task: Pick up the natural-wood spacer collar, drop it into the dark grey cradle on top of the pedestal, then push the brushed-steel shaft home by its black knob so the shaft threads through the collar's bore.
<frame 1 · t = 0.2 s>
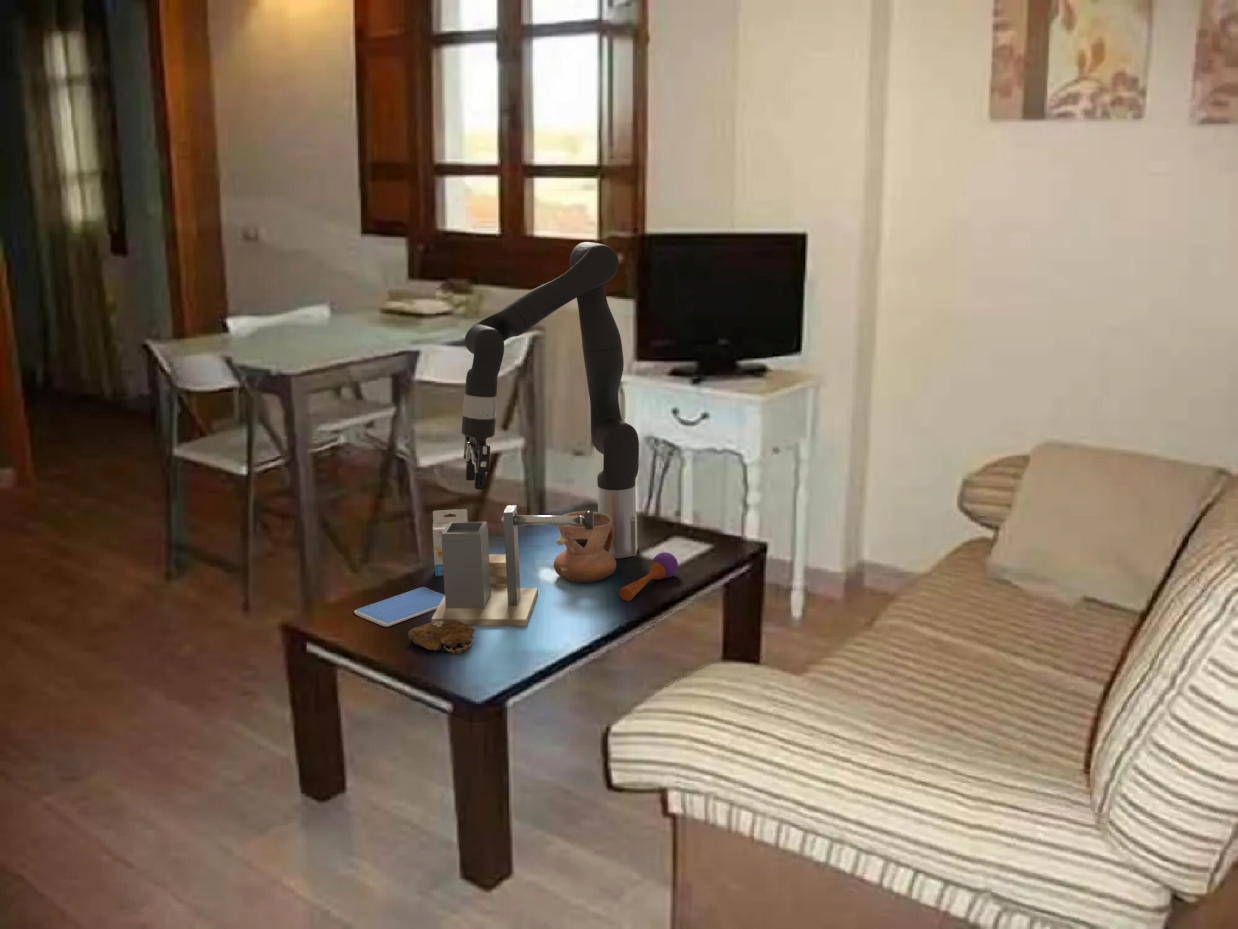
hand: (474, 484, 271), 23 cm above the table, tool pointing down, fingers open, 8 cm apart
birch board: (486, 609, 258), on the table
steel shaft: (565, 520, 252), point 20 cm above the table, slide at 0.0 cm
ceramic jug: (587, 576, 277), on the table
spacer collar: (498, 584, 272), on the table
purple maraca: (649, 588, 269), on the table
ink box: (453, 573, 281), on the table
decorative rock: (446, 645, 241), on the table
tablet computer: (406, 610, 260), on the table
shaft bracket: (514, 607, 258), resting on birch board
pedestal: (469, 607, 259), resting on birch board
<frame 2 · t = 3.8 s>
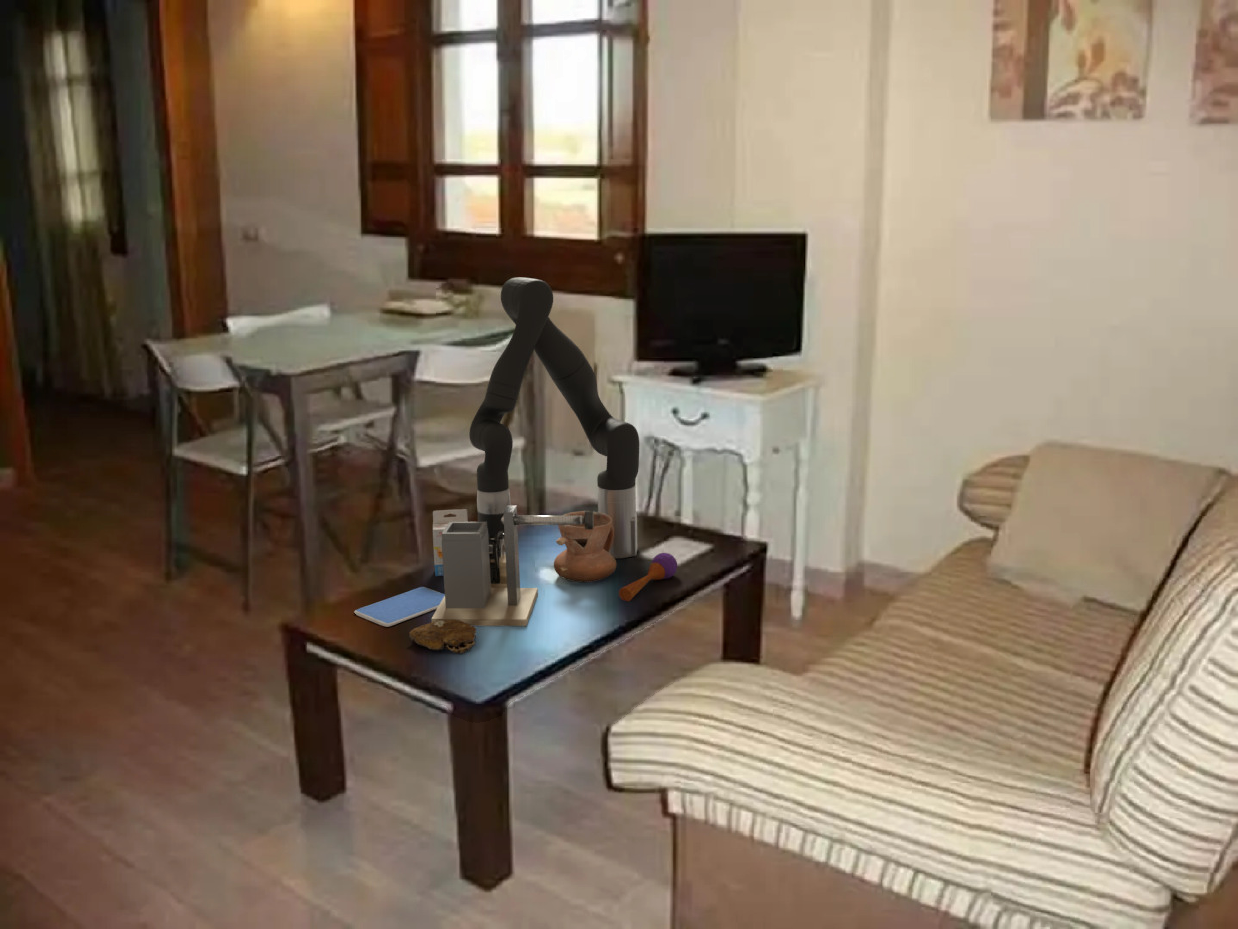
hand: (497, 578, 272), 2 cm above the table, tool pointing down, fingers closed on spacer collar, 5 cm apart
spacer collar: (497, 584, 272), on the table, touching gripper
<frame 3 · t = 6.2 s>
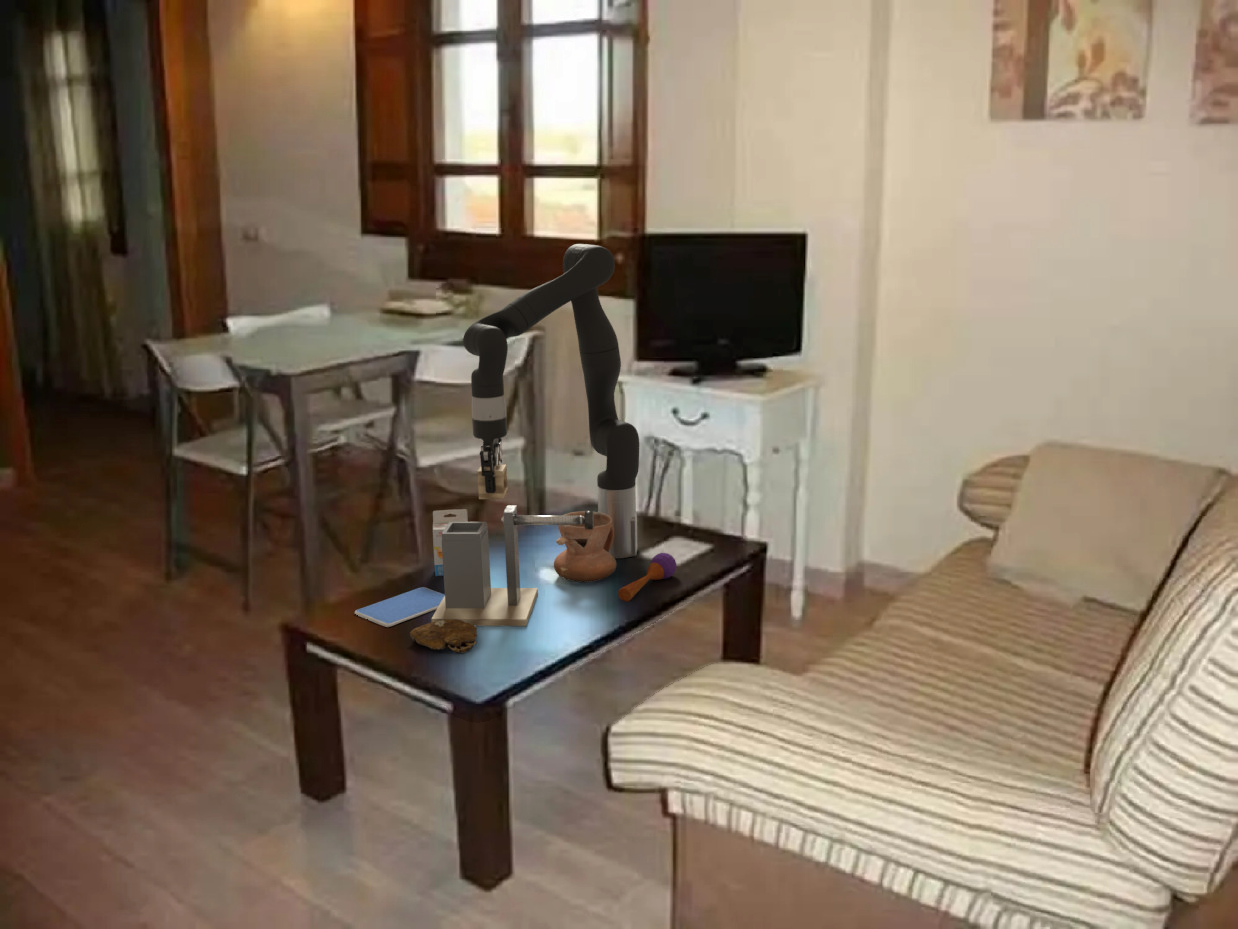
hand: (493, 488, 266), 23 cm above the table, tool pointing down, fingers closed on spacer collar, 5 cm apart
spacer collar: (493, 495, 267), point 21 cm above the table, touching gripper
everything else where it was.
when the fingers open (20 cm above the table, at t = 8.7 s): spacer collar drops 2 cm, resting on pedestal.
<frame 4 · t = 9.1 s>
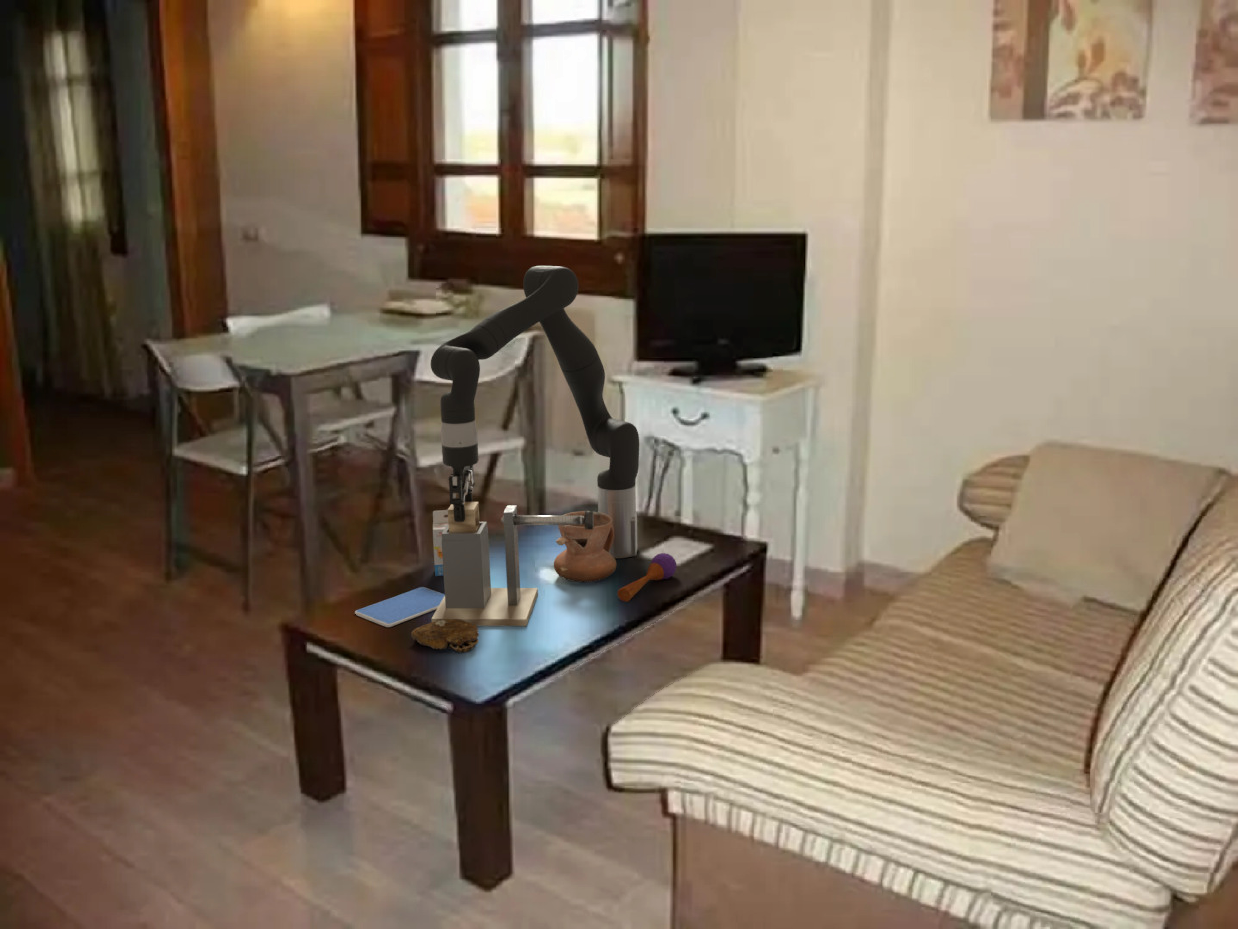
hand: (463, 515, 253), 21 cm above the table, tool pointing down, fingers open, 8 cm apart
spacer collar: (464, 534, 255), point 17 cm above the table, touching pedestal
everything else where it was.
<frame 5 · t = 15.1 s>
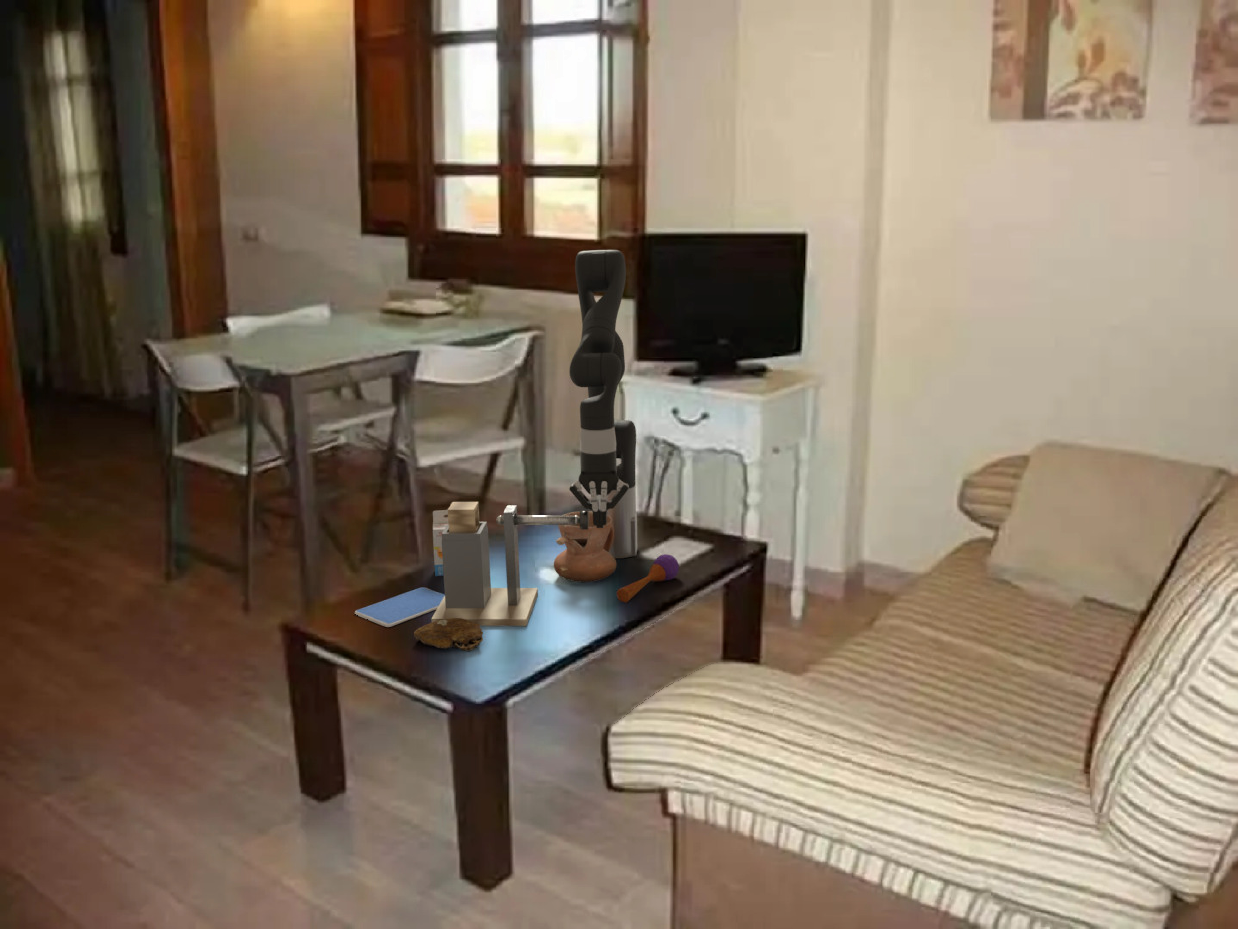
hand: (600, 526, 252), 19 cm above the table, tool pointing down, fingers closed
steel shaft: (560, 520, 252), point 20 cm above the table, slide at 1.1 cm, touching gripper
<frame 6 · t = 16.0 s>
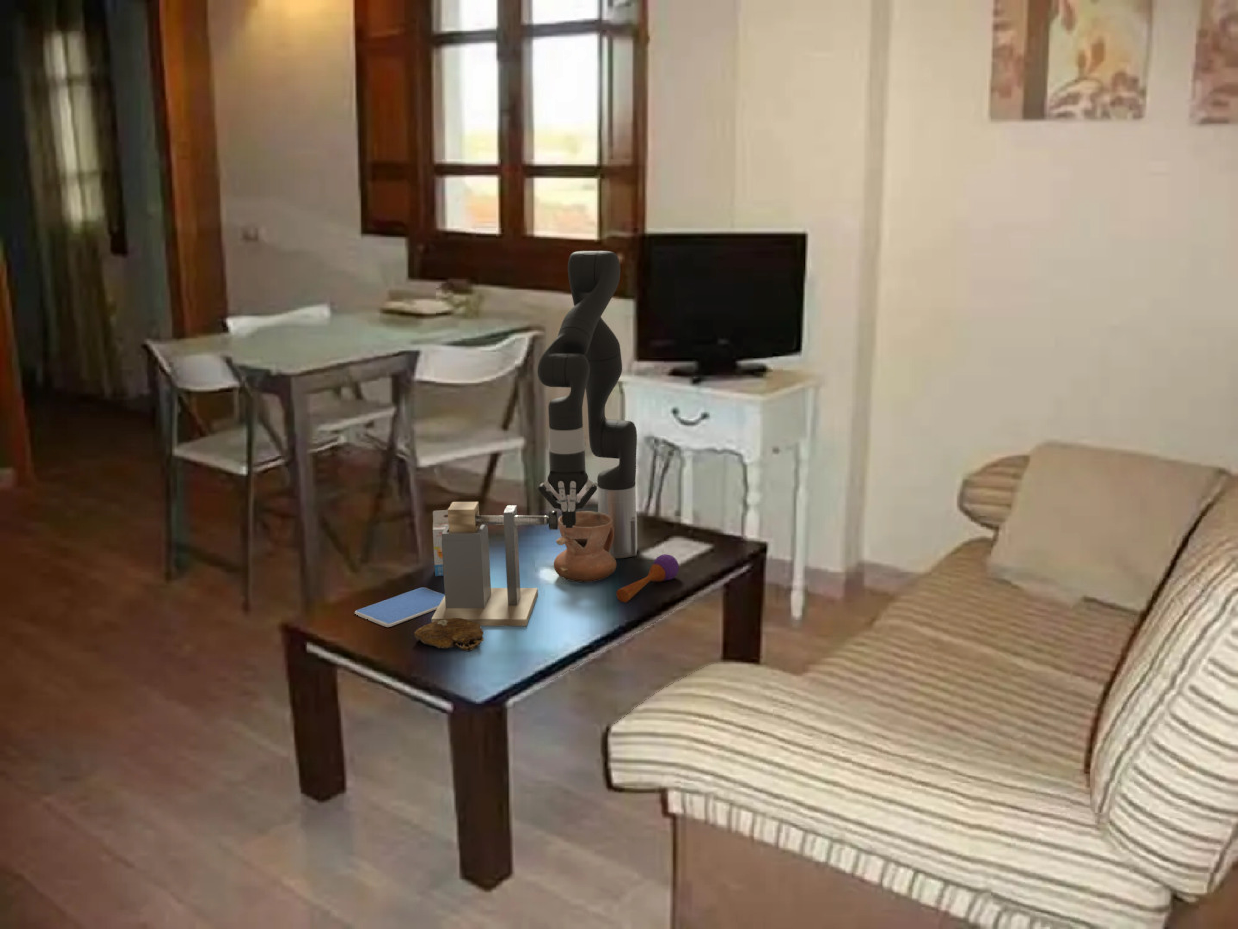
hand: (569, 526, 253), 19 cm above the table, tool pointing down, fingers closed
steel shaft: (530, 520, 253), point 20 cm above the table, slide at 7.6 cm, touching gripper
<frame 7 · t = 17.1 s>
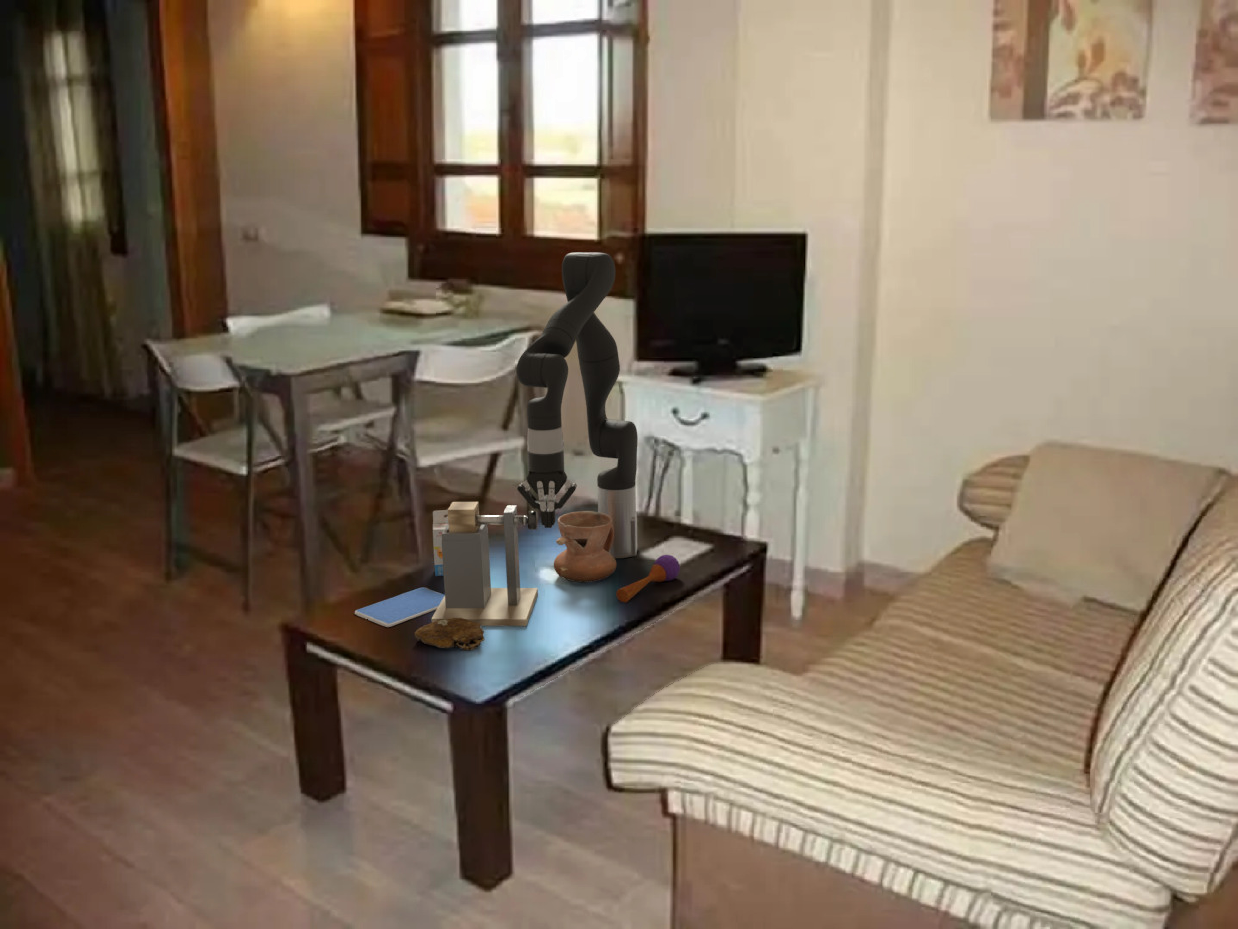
hand: (548, 526, 253), 19 cm above the table, tool pointing down, fingers closed
steel shaft: (509, 520, 253), point 20 cm above the table, slide at 12.0 cm, touching gripper
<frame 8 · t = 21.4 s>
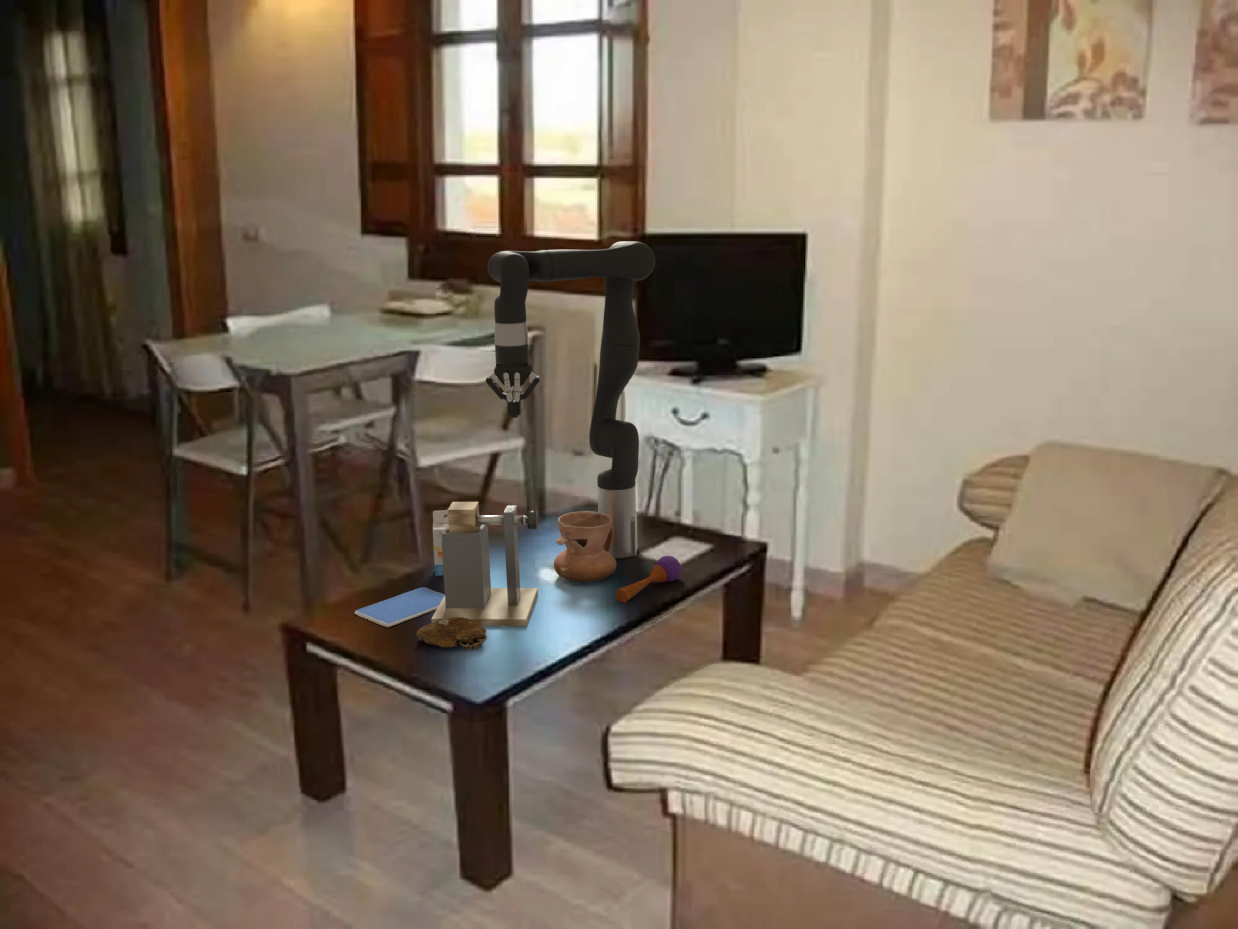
hand: (514, 416, 272), 37 cm above the table, tool pointing down, fingers closed
steel shaft: (509, 520, 253), point 20 cm above the table, slide at 12.1 cm
at the end: spacer collar 0.0 cm off-centre on the pedestal, point 16.8 cm above the pedestal's base; spacer collar tilted 0°; steel shaft slide at 12.1 cm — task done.
